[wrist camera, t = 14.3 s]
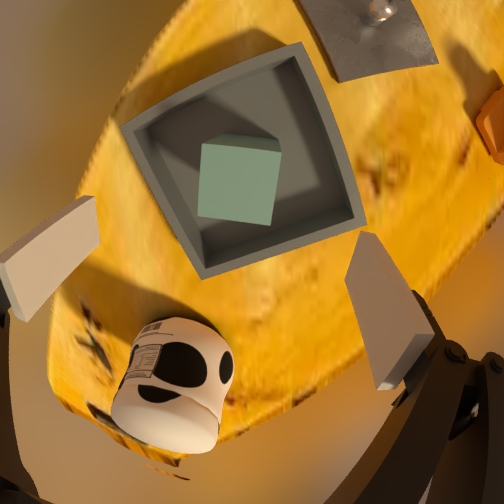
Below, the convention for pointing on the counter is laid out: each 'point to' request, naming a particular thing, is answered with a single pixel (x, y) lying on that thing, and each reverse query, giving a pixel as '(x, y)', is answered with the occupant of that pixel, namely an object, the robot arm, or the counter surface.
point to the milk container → (175, 385)
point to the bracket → (493, 124)
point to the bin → (259, 125)
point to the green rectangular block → (239, 178)
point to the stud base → (369, 36)
